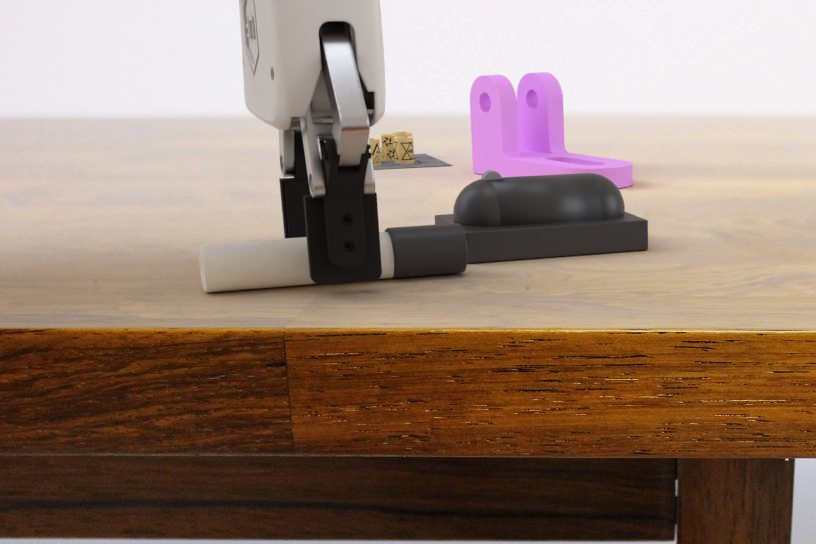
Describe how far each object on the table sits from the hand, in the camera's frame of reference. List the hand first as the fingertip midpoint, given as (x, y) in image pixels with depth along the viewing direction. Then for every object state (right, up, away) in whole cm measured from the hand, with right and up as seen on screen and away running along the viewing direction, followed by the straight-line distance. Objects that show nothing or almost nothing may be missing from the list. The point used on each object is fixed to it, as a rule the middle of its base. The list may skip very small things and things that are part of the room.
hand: (332, 265), depth 71 cm
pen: (0, -1, 0) cm, 1 cm away
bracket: (+7, +11, +35) cm, 37 cm away
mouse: (+9, +2, +9) cm, 13 cm away
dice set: (-7, +14, +43) cm, 46 cm away
